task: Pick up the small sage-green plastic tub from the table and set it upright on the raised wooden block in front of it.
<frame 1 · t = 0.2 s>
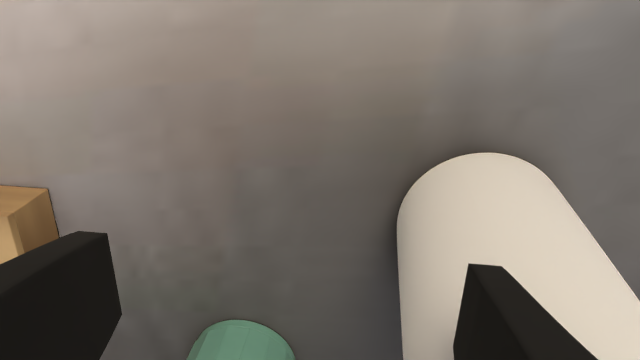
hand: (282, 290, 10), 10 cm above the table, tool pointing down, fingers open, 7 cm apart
wooden block: (8, 350, 26), on the table
can: (475, 218, 20), on the table, touching gripper
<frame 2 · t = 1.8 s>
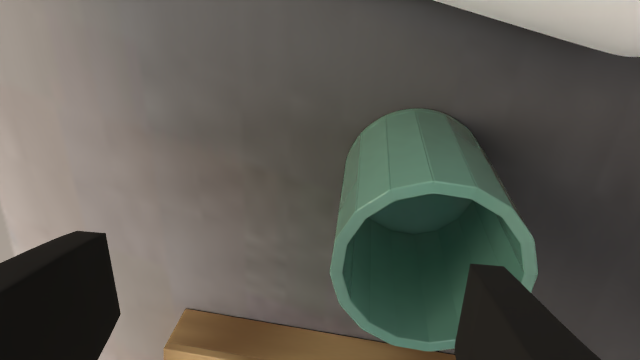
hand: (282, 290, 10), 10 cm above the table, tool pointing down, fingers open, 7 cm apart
tub: (413, 174, 18), on the table
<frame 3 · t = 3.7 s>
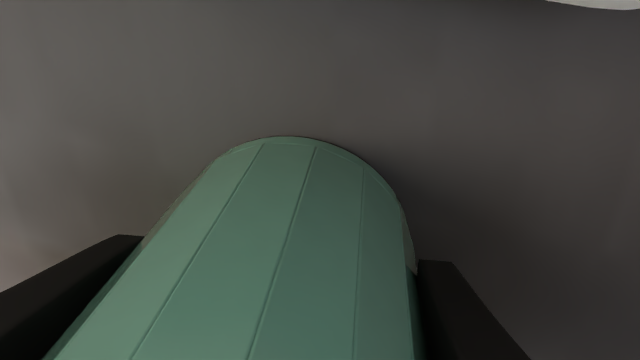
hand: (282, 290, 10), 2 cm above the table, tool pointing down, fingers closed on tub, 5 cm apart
tub: (293, 244, 11), on the table, touching gripper
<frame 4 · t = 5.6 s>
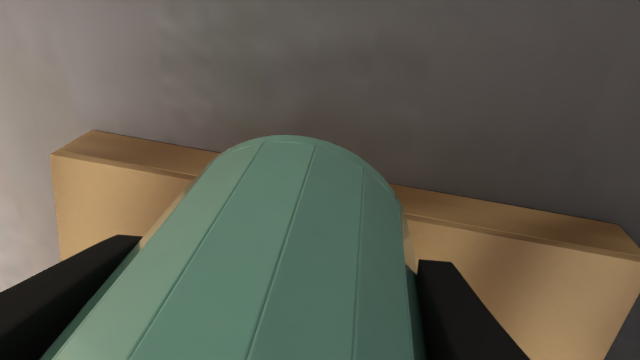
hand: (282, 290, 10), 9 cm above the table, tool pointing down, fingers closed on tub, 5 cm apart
wooden block: (330, 273, 20), on the table
tub: (293, 242, 11), point 7 cm above the table, touching gripper
when the fingers open (4 cm above the table, at t = 7.7 s): tub stays where it is, resting on wooden block.
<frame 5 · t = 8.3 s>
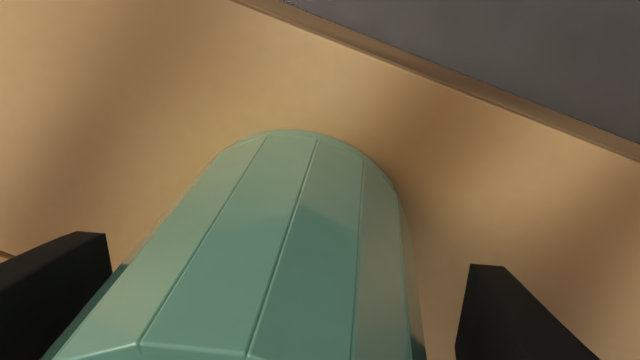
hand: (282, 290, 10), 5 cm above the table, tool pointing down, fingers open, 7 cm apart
wooden block: (343, 200, 14), on the table
tub: (295, 234, 11), point 3 cm above the table, touching wooden block
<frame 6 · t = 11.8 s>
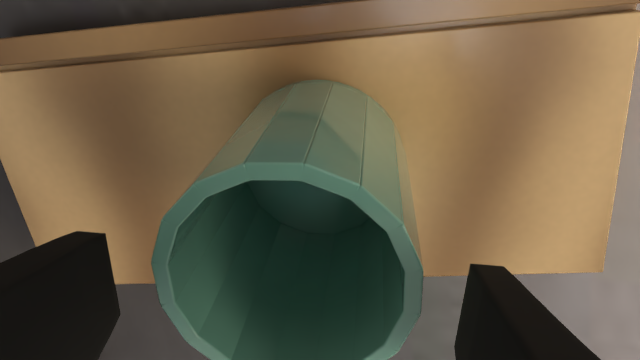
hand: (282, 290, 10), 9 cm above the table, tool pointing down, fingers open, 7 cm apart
wooden block: (299, 137, 18), on the table
tub: (320, 162, 15), point 3 cm above the table, touching wooden block
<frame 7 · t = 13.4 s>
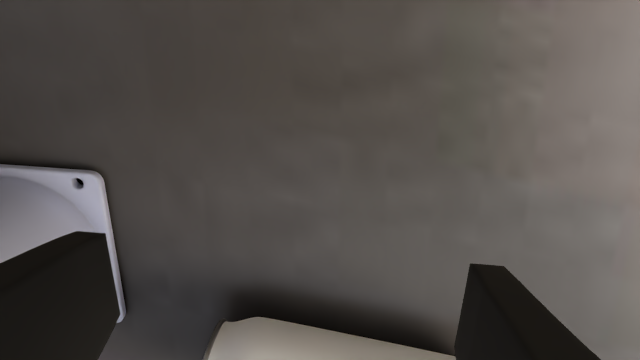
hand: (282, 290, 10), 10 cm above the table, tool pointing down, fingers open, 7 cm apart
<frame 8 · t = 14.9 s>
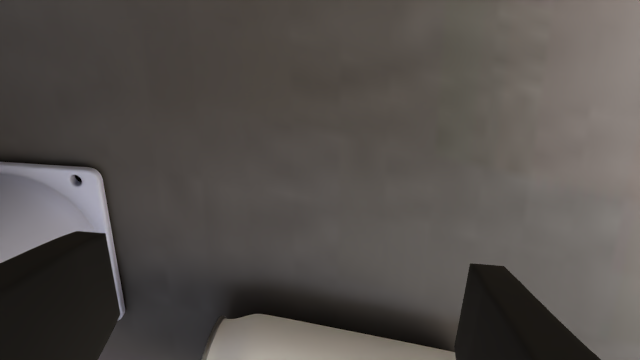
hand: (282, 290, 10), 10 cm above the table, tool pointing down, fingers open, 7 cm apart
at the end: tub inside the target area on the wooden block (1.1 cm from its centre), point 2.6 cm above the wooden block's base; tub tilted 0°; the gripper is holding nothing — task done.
